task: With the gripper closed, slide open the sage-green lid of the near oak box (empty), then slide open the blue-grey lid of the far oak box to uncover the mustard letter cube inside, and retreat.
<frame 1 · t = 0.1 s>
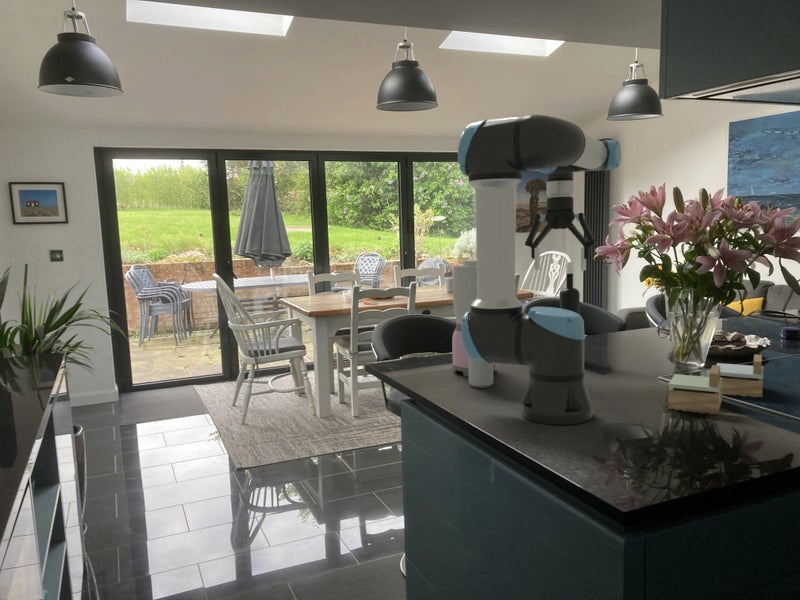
hand: (559, 270, 184), 28 cm above the countertop, tool pointing down, fingers open, 13 cm apart
lid far: (739, 364, 151), point 7 cm above the countertop, slide at 0.0 cm
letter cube: (738, 390, 151), point 1 cm above the countertop, touching box far
lid near: (695, 376, 141), point 7 cm above the countertop, slide at 0.0 cm
box near: (695, 406, 142), on the countertop
blender: (472, 370, 183), on the countertop
box far: (738, 392, 151), on the countertop
beverage can: (481, 386, 166), on the countertop
wine bottle: (569, 361, 192), on the countertop
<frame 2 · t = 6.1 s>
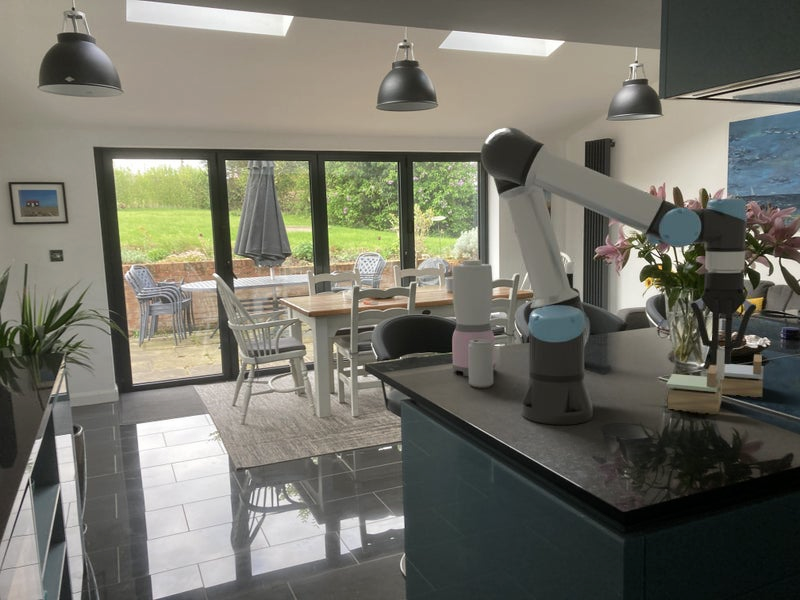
hand: (720, 378, 138), 7 cm above the countertop, tool pointing down, fingers closed
lid near: (693, 375, 141), point 7 cm above the countertop, slide at 0.5 cm, touching gripper
everything else where it was.
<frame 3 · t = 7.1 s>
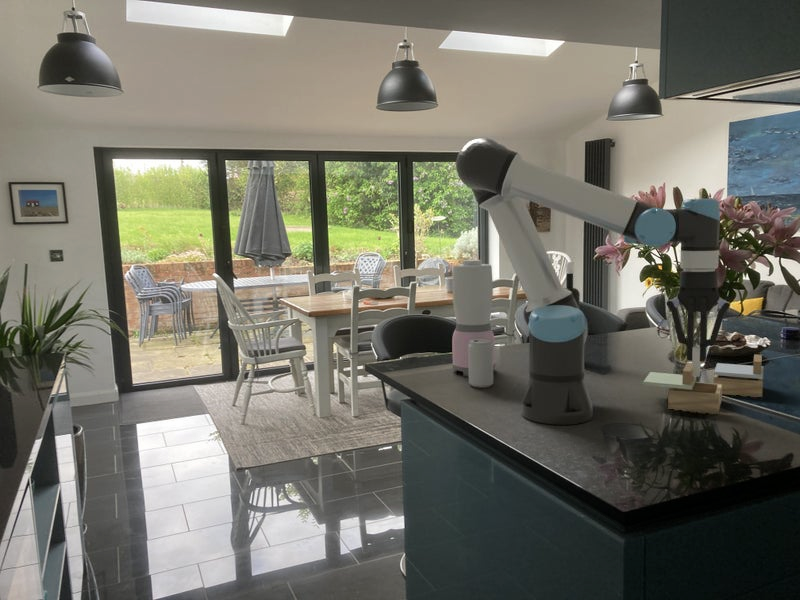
hand: (696, 375, 141), 7 cm above the countertop, tool pointing down, fingers closed
lid near: (670, 373, 144), point 7 cm above the countertop, slide at 5.3 cm, touching gripper
everything else where it was.
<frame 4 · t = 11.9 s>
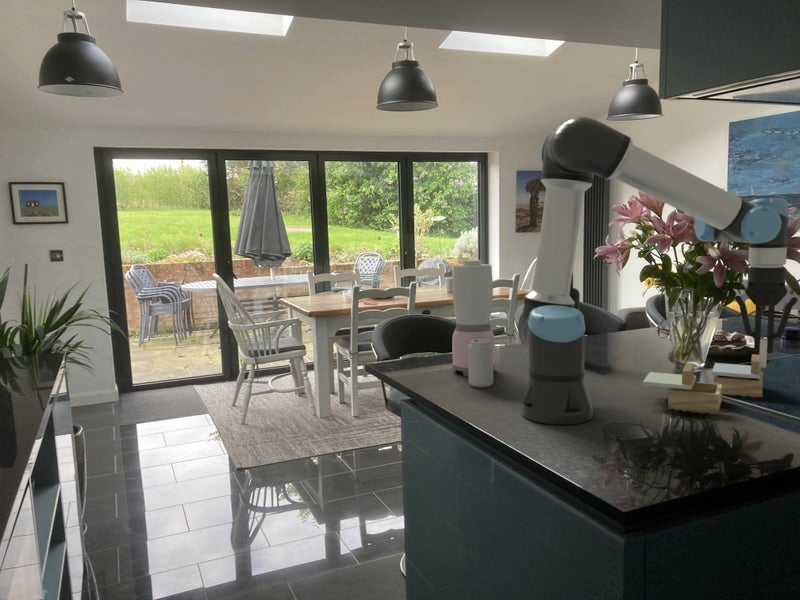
hand: (762, 366, 148), 7 cm above the countertop, tool pointing down, fingers closed
lid far: (737, 364, 151), point 7 cm above the countertop, slide at 0.5 cm, touching gripper
lid near: (669, 373, 144), point 7 cm above the countertop, slide at 5.4 cm
everything else where it was.
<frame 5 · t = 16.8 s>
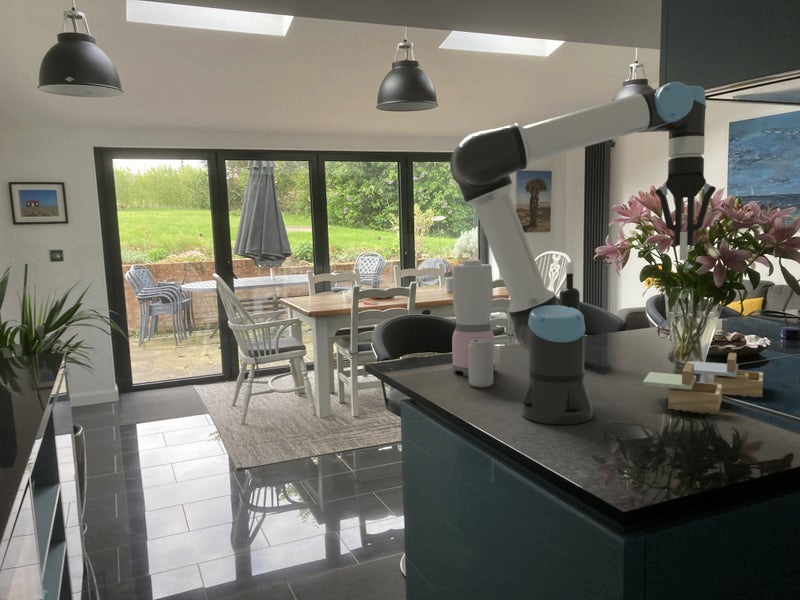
hand: (683, 259, 148), 32 cm above the countertop, tool pointing down, fingers closed
lid far: (714, 362, 153), point 7 cm above the countertop, slide at 5.4 cm
everything else where it was.
at the end: lid near slide at 5.4 cm; lid far slide at 5.4 cm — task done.
